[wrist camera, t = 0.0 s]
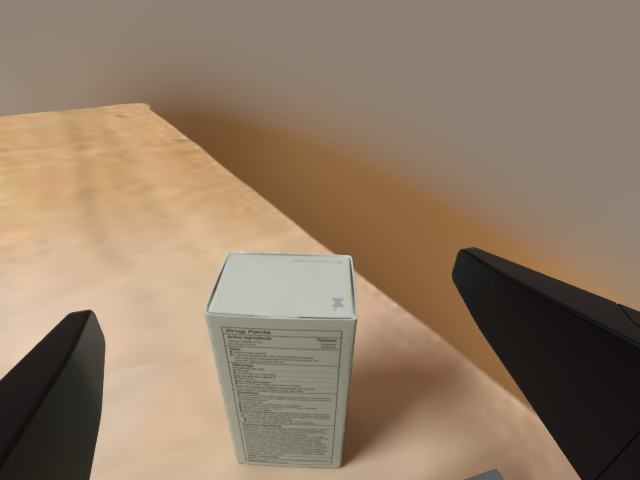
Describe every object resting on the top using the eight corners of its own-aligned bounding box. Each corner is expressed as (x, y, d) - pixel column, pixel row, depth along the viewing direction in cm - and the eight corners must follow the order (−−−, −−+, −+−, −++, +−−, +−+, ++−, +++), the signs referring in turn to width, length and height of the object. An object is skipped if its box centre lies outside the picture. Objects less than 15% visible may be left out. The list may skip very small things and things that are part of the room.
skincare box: (340, 402, 25) (357, 253, 18) (341, 474, 21) (363, 320, 15) (245, 397, 25) (227, 246, 18) (230, 468, 21) (200, 311, 15)
